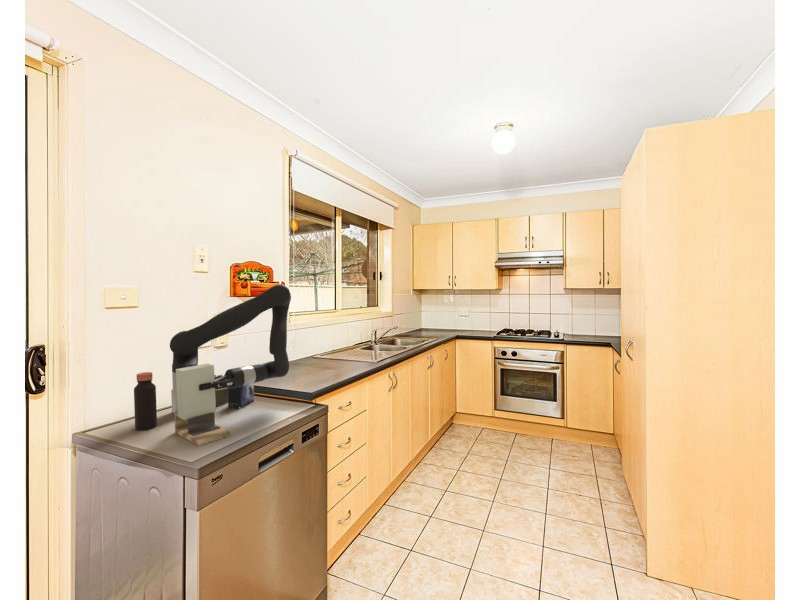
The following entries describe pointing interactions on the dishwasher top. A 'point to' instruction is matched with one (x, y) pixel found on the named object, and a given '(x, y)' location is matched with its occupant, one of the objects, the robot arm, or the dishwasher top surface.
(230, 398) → the small box
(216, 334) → the robot arm
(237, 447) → the dishwasher top surface
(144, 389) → the bottle
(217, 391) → the can
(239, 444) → the dishwasher top surface
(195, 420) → the rack
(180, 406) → the book
